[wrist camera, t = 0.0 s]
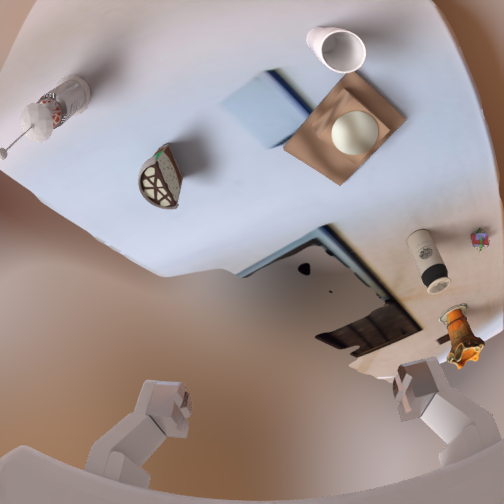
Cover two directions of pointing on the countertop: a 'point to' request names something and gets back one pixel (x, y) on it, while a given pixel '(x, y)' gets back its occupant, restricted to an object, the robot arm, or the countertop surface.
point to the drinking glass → (337, 48)
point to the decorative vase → (461, 337)
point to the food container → (161, 179)
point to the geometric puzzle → (480, 239)
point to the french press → (53, 109)
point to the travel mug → (428, 262)
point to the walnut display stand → (344, 129)
